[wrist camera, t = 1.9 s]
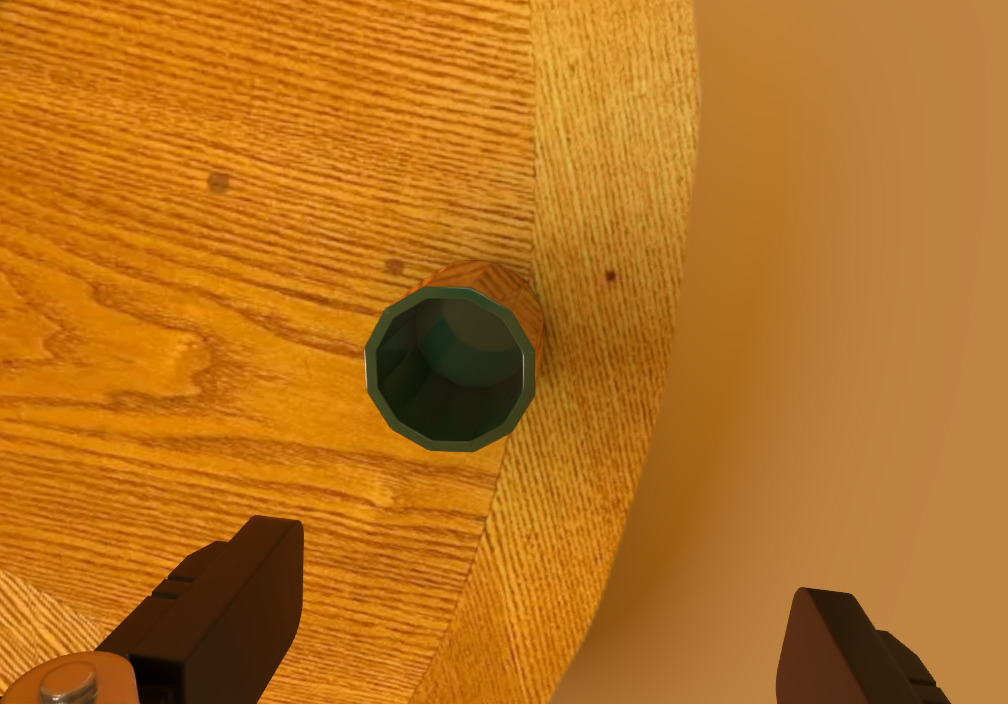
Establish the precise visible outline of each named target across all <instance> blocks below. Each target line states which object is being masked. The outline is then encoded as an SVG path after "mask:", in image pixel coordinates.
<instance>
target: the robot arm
mask: <svg viewBox="0 0 1008 704" xmlns="http://www.w3.org/2000/svg"><path fill="white" fill-rule="evenodd" d="M303 550H304V531H303V525H302V523H301V522H300V521H299V520H292V519H284V518H276V517H269V516H261V515H254V516H253V517H252V518H250V519H249V521H248V522H247V523H246V524H245V525H244V526H243V527H242V528H241V529H240V530H239V531H238V533H237V534H236V535H235V536H234V537H233V538H232V539H231V540H230V541H229V542H223V541H215V542H213V543H211V544H209V545H207V546H206V547H204V548H202V549H200V550H198V551H196V552H194V553H192V554H190V555H188V556H187V557H186V558H185V559H184V560H183V561H182V562H181V563H180V564H179V565H178V566H177V567H176V568H175V569H174V570H173V571H172V572H171V573H170V574H169V575H168V579H167V580H166V579H164V580H163V581H162V582H161V583H160V584H159V585H158V586H157V587H156V588H155V589H154V590H153V591H152V595H151V596H147V597H146V598H145V599H144V600H143V601H142V602H141V603H140V605H139V606H138V607H137V608H136V609H135V610H134V611H133V612H132V613H131V614H130V615H129V616H128V617H127V618H126V619H125V620H124V621H123V622H122V623H121V624H120V625H119V626H118V627H117V628H116V629H115V630H114V631H113V632H112V633H111V634H110V635H109V636H108V637H107V638H106V639H105V640H104V641H103V642H102V643H101V644H100V645H99V646H98V647H97V648H96V649H95V650H94V651H86V652H78V653H73V654H68V655H64V656H61V657H57V658H54V659H52V660H49V661H47V662H44V663H42V664H40V665H38V666H36V667H34V668H33V669H31V670H29V671H28V672H26V673H25V674H23V675H22V676H21V677H19V678H18V679H17V680H16V681H15V682H14V683H13V684H12V685H10V686H9V688H8V689H7V690H6V692H5V693H4V694H3V696H0V704H256V703H257V702H258V700H259V698H260V697H261V695H262V693H263V692H264V690H265V688H266V687H267V685H268V683H269V681H270V680H271V678H272V676H273V675H274V673H275V671H276V670H277V668H278V666H279V665H280V663H281V661H282V659H283V658H284V656H285V654H286V653H287V651H288V649H289V648H290V646H291V644H292V642H293V640H294V638H295V635H296V633H297V629H298V626H299V622H300V618H301V612H302V602H303ZM776 696H777V704H951V703H950V701H949V700H948V699H947V697H946V696H945V694H944V693H943V692H942V690H941V689H940V688H937V687H936V681H935V680H934V679H933V677H932V676H931V674H930V673H929V671H928V670H927V669H926V667H925V666H924V664H923V663H922V661H921V660H920V659H919V657H918V656H917V655H916V654H914V653H913V652H912V651H911V650H910V649H909V648H907V647H906V646H905V645H904V644H902V643H901V642H900V641H899V640H897V639H896V638H895V637H894V636H893V635H891V634H890V633H889V632H887V631H880V630H876V629H875V628H874V626H873V625H872V623H871V621H870V620H869V618H868V617H867V615H866V614H865V612H864V611H863V609H862V607H861V606H860V604H859V603H858V601H857V600H856V598H855V597H854V596H853V595H852V594H849V593H843V592H835V591H828V590H820V589H812V588H805V587H801V588H799V589H798V590H797V591H796V593H795V595H794V598H793V601H792V606H791V610H790V615H789V619H788V624H787V629H786V633H785V638H784V642H783V646H782V651H781V655H780V660H779V664H778V669H777V676H776Z"/></svg>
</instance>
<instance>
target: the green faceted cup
mask: <svg viewBox="0 0 1008 704" xmlns="http://www.w3.org/2000/svg"><path fill="white" fill-rule="evenodd" d="M543 337H544V315H543V312H542V310H541V308H540V305H539V302H538V300H537V298H536V296H535V294H534V293H533V291H532V290H531V288H530V287H529V286H528V285H527V284H526V282H525V281H524V280H522V279H521V278H520V277H519V276H518V275H517V274H515V273H514V272H512V271H511V270H509V269H507V268H505V267H503V266H501V265H498V264H495V263H493V262H487V261H479V260H470V261H462V262H453V263H451V264H450V265H448V266H446V267H444V268H442V269H440V270H439V271H437V272H436V273H434V274H433V275H431V276H429V277H427V278H426V279H424V280H423V281H421V282H420V283H419V284H417V285H416V286H415V287H413V288H412V289H411V290H409V291H408V292H407V293H405V294H404V295H403V296H401V297H400V298H399V299H397V300H396V301H395V302H393V303H392V304H391V305H390V306H388V307H387V308H386V309H385V310H384V311H383V313H382V315H381V317H380V319H379V321H378V323H377V324H376V326H375V328H374V330H373V332H372V334H371V336H370V338H369V340H368V341H367V343H366V345H365V349H364V353H365V370H366V387H367V393H368V394H369V396H370V397H371V399H372V400H373V402H374V404H375V405H376V407H377V408H378V410H379V411H380V413H381V415H382V416H383V418H384V419H385V421H386V422H387V424H388V425H389V427H390V428H391V429H392V430H394V431H395V432H397V433H399V434H401V435H402V436H404V437H406V438H408V439H409V440H411V441H413V442H415V443H416V444H418V445H420V446H422V447H423V448H425V449H427V450H430V451H448V452H475V451H477V450H479V449H481V448H483V447H485V446H487V445H489V444H491V443H493V442H495V441H497V440H499V439H501V438H502V437H504V436H506V435H508V434H510V433H511V432H513V430H514V429H515V427H516V426H517V424H518V422H519V421H520V419H521V418H522V416H523V414H524V413H525V411H526V410H527V408H528V406H529V405H530V403H531V401H532V400H533V398H534V396H535V392H536V387H537V381H538V376H539V370H540V365H541V359H542V354H543Z"/></svg>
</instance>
